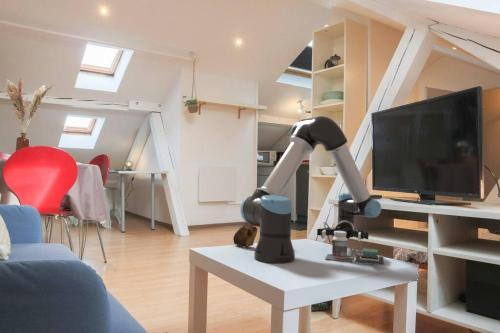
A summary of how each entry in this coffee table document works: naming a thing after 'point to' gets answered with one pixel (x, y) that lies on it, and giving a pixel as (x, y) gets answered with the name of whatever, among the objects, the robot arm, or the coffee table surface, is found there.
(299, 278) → the coffee table surface
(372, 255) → the switch paddle
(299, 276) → the coffee table surface
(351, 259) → the coaster
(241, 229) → the decorative rock
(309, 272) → the coffee table surface
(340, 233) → the pill bottle
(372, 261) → the switch base
